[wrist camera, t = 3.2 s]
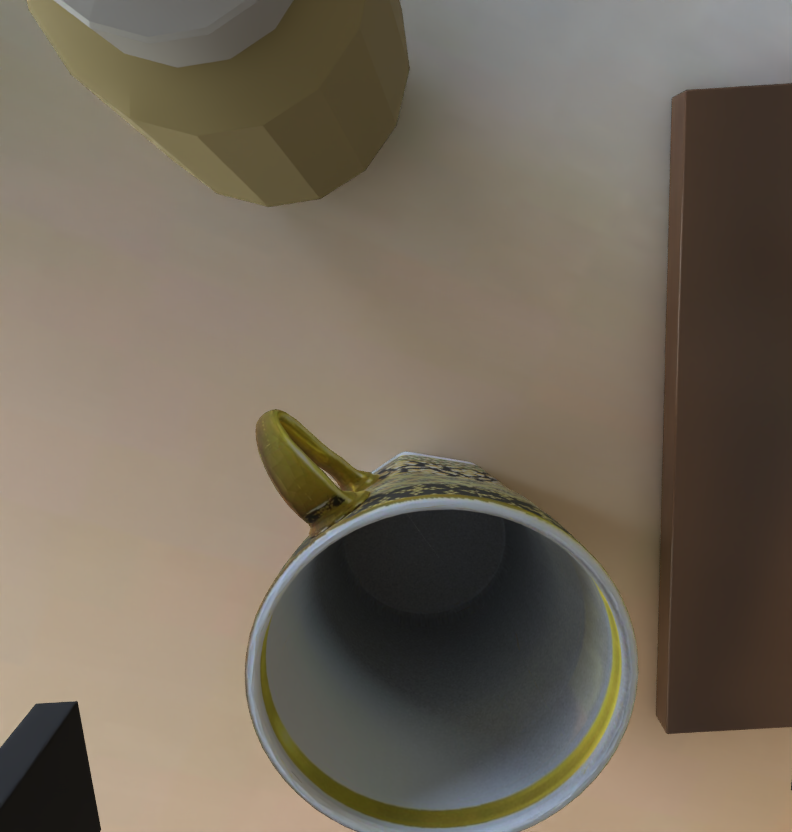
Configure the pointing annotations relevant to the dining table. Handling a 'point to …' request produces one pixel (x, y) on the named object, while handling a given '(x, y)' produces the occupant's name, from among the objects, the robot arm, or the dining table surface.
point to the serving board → (727, 415)
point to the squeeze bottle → (244, 84)
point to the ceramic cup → (432, 646)
